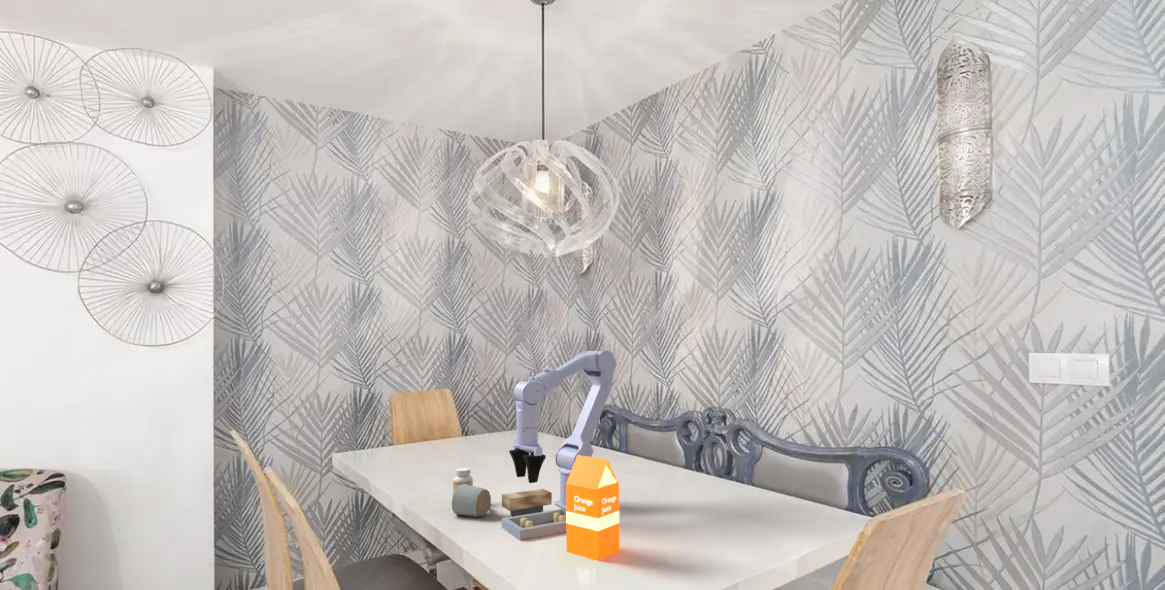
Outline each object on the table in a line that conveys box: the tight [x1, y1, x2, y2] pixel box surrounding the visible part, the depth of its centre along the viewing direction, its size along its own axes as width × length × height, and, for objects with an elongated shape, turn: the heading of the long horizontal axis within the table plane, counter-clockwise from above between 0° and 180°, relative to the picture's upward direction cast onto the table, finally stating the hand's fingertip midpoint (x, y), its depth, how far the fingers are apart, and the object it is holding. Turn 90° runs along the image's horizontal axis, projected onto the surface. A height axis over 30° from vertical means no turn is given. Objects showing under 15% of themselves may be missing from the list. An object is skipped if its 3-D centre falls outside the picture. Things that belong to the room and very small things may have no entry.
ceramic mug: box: [451, 484, 492, 518], centre depth 157 cm, size 11×8×8 cm
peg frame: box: [501, 508, 567, 541], centre depth 144 cm, size 17×11×2 cm, turn 120°
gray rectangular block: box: [509, 506, 544, 517], centre depth 155 cm, size 8×3×2 cm, turn 120°
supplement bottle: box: [452, 467, 474, 495], centre depth 166 cm, size 5×5×10 cm
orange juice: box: [566, 455, 620, 562], centre depth 129 cm, size 8×9×20 cm
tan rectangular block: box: [501, 488, 553, 512], centre depth 155 cm, size 12×5×3 cm, turn 120°
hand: (526, 479), depth 156 cm, fingers open, 7 cm apart
